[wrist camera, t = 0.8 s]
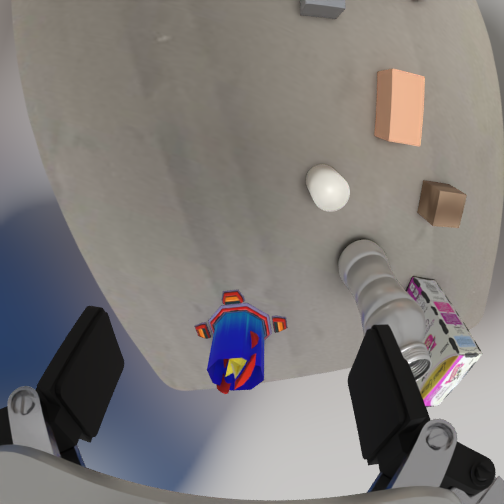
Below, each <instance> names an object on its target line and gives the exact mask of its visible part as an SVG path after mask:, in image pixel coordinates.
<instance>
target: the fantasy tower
mask: <svg viewBox="0 0 504 504" xmlns="http://www.w3.org/2000/svg"><path fill="white" fill-rule="evenodd" d="M244 301H245V299H244V297H243V295H242V294H241V293H240V291H239V290H231V291H223V295H222V303H223V304H225V305H221V306H220V307H219V309H218V310H217V311H216V312H215V313H214V314H213V316H212V317H211V318H210V319H209V320H208V322H209V325H210V328H211V331H212V334H213V341H212V346H211V351H210V356H209V362H208V367H207V371H208V373H209V376H210V378H211V380H212V382H213V383H214V384H217V389H218V390H219V391H220V392H222V393H224V394H227V393H228V392H229V390H250V389H252V388H254V387H255V386H256V385H258V384H259V383H261V382H262V381H263V380H264V340H265V339H266V338H268V337H269V336H270V335H271V334H272V330H271V324H270V319H269V315H268V314H266V313H264V312H263V311H261V310H259V309H257V308H256V307H254V306H252V305H250V304H249V303H242V302H244ZM239 303H241V304H239ZM229 304H231V305H229ZM272 320H273V326H274V332H275V333H276V332H280V331H282V330H284V329H286V328H287V321H286V317H281V316H272ZM195 329H196V331H197V334H198V336H199V337H202V338H210V337H211V335H210V332H209V330H208V327H207V324H206V322H204V323H200V324H198V325H195Z"/></svg>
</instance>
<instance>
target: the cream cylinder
mask: <svg viewBox="0 0 504 504" xmlns="http://www.w3.org/2000/svg"><path fill="white" fill-rule="evenodd" d="M306 186H307V188H308V190H309V192H310V194H311V196H312V198H313V200H314V202H315V204H316V205H317V206H318V207H319V208H320V209H322V210H325V211H336V210H339V209H340V208H342V207H343V206H344V205H345V204H346V203H347V201H348V199H349V196H350V189H349V185H348V183H347V182H346V180H345V179H344V178H343V177H342V176H341V175H340V174H339V173H338V172H337V171H336V170H335V169H334V168H332V167H331V166H329V165H326V164H319V165H316V166H314V167H312V168H311V169H310V170H309V172H308V173H307V176H306Z"/></svg>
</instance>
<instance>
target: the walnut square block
mask: <svg viewBox="0 0 504 504" xmlns="http://www.w3.org/2000/svg"><path fill="white" fill-rule="evenodd" d="M466 196H467V195H466V194H464V193H463V192H461V191H460V190H458V189H456V188H455V187H453V186H451V185H449V184H445V183H438V182H432V181H425V180H423V185H422V191H421V196H420V201H419V207H418V211H417V213H419V214H420V215H421V216H422V217H423V218H424V219H425V220H427V221H428V222H429V223H430V224H431V225H432V226H440V227H453V228H459V225H460V221H461V217H462V213H463V209H464V205H465V200H466Z"/></svg>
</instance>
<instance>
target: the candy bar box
mask: <svg viewBox="0 0 504 504" xmlns="http://www.w3.org/2000/svg"><path fill="white" fill-rule="evenodd" d="M406 292H407V293H408V294H409V295H410V296H411V297H412V298H413V299H414V300H415V301H416V303H418V305H419V306H420V307H421V309H422V310H423V312H424V315H425V320H426V331H425V336H424V340H423V343H424V344H425V345H426V347H427V349H428V354H429V356H430V358H431V362H432V366H431V368H430V370H429V371H428V373H427V374H426V375H425V376H424V377H422V378H421V379H419V380H418V381H416V383H417V385H418V388H419V390H420V393H421V396H422V398H423V401H424V404H425V406H426V407H431V406H438V405H439V404H440V403H441V402H442V401H443V400H444V399H445V398H446V397H447V396H448V394H449V393H450V392H451V391H452V390H453V389H454V388H455V387H456V385H457V384H458V383H459V382H460V381H461V380H462V379H463V377H464V376H465V375H466V374H467V373H468V371H469V370H470V369H471V368H472V366H473V365H474V364H475V363H476V361H477V360H478V359H479V358H480V356H481V355H482V352H481V350H480V349H479V347H478V345H477V344H476V342H475V340H474V339H473V337H472V335H471V334H470V332H469V330H468V329H467V327H466V325H465V324H464V322H463V321H462V319H461V318H460V316H459V315H458V313H457V312H456V310H455V309H454V307H453V306H452V304H451V303H450V301H449V300H448V298H447V297H446V295H445V294H444V292H443V291H442V290H441V288H440V287H439V285H438V284H437V283H436V281H435V280H431V279H424V278H419V277H412V279H411V281H410V284H409V286H408V288H407V290H406Z"/></svg>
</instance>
